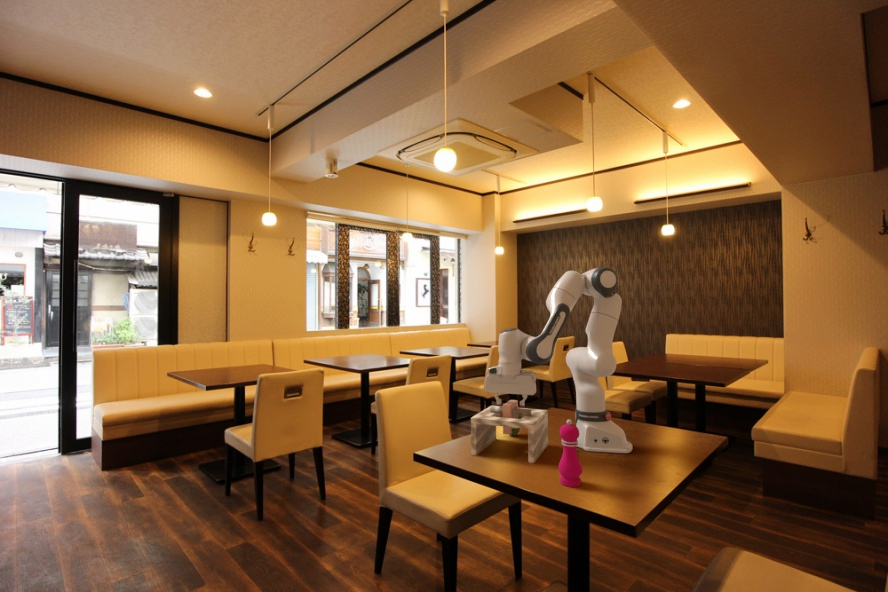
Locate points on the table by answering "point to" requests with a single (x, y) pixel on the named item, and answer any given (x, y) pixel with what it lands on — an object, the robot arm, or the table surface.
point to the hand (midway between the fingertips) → (510, 404)
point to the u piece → (509, 414)
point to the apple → (516, 431)
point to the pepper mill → (570, 456)
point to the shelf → (488, 420)
